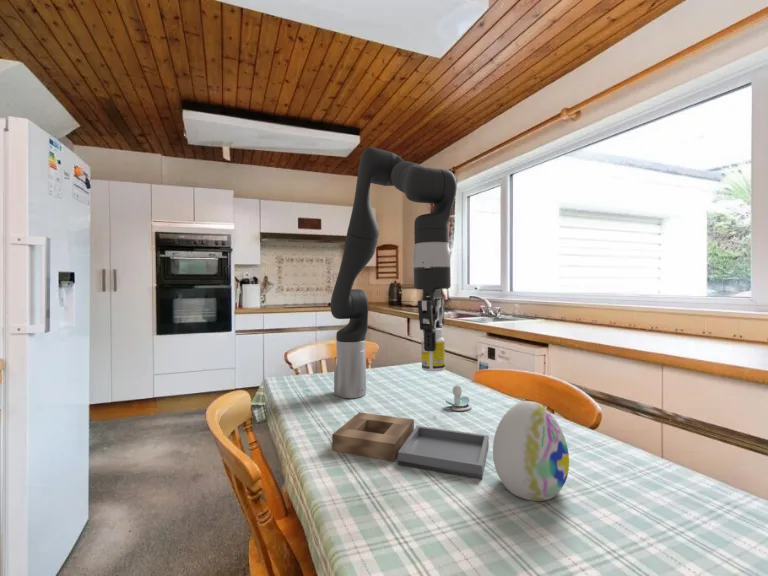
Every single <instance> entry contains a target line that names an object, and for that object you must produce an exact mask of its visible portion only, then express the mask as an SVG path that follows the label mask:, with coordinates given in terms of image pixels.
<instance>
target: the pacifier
mask: <svg viewBox="0 0 768 576" xmlns="http://www.w3.org/2000/svg"><path fill="white" fill-rule="evenodd" d="M462 393H463V389H462V388H461V386H460V385H458V384H456V385H454V386H453V388H452V394H453V396H454V397H453V401H447V400H445V403H447V404H448V405H450V406H452V407H451V409H452V410H453V411H456V412H465V411H469V410H471V409H472V408H473V406H472V404H470V398H469V397H467V396H462Z"/></svg>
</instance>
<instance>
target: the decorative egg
mask: <svg viewBox="0 0 768 576" xmlns="http://www.w3.org/2000/svg"><path fill="white" fill-rule="evenodd" d="M569 453H570V452H569V447H568V445H567V441H566V437H565V434H564V433H563V430H562V428H561V426H560V425H559V423H558V421H557V420H556V419H555V416H553V415H552V414H551V412H550V411H549V410H548V409H547V408H545V407H544V406H543V405H542V404H541V403H540V404H539V403H537V402H534V401H532V400H531V401H530V400H524V401H520V402H518V403H516V404H514V405H513V406H512V407H510V408H509V409H508V410H507V411H506V412H505V413H504V414H503V416H502V417H501V419H500V421H499V423H498V425H497V427H496V431H495V433H494V438H493V444H492V457H493V458H492V459H493V464H494V468H495V472H496V474H497V475H498V478H499V479H500V481H501V483H502V484H503V486H504V487H505V488H506V490H508V491H509V492H510V493H511V494H513V495H514V496H516V497H519V498H521V499H524V500H527V501H534V502H542V501H548V500H552V499H554V498H555V496H557V495H558V494H559V493H560V492H561V490H562V489H563V487H564V486H565V484H566V481H567V479H568V474H569V471H570V470H569V469H570V454H569Z"/></svg>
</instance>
